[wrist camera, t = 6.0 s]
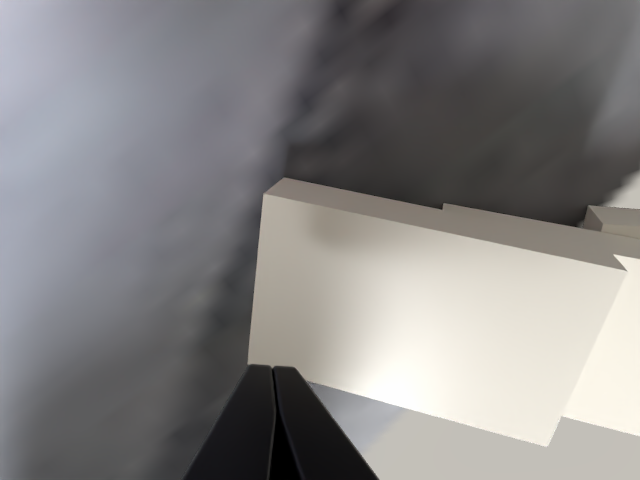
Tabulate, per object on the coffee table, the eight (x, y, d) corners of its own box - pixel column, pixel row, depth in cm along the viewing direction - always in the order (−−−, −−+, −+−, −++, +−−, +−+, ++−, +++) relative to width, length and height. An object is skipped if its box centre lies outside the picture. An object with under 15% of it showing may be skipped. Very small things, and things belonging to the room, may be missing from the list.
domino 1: (266, 332, 14) (535, 403, 13) (247, 364, 13) (547, 447, 12) (283, 177, 12) (603, 242, 11) (263, 193, 11) (627, 271, 10)
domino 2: (410, 345, 15) (678, 411, 14) (406, 376, 14) (705, 453, 12) (443, 202, 13) (762, 262, 12) (442, 221, 12) (805, 291, 10)
